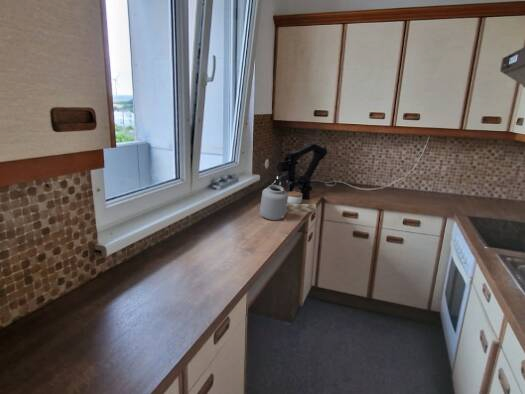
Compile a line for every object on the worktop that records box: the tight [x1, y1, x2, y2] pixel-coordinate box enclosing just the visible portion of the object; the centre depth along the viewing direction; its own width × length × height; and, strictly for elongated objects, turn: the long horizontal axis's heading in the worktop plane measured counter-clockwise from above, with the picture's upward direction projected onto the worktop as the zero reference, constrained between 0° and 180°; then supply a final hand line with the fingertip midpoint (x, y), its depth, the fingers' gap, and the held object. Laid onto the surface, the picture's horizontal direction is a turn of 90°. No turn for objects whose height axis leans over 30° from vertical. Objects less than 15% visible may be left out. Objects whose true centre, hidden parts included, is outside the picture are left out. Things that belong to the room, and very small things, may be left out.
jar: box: [259, 175, 288, 221], centre depth 201 cm, size 19×15×25 cm
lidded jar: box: [286, 190, 303, 204], centre depth 233 cm, size 11×11×9 cm
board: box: [285, 203, 317, 213], centre depth 220 cm, size 20×3×4 cm, turn 100°
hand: (290, 193), depth 243 cm, fingers closed
